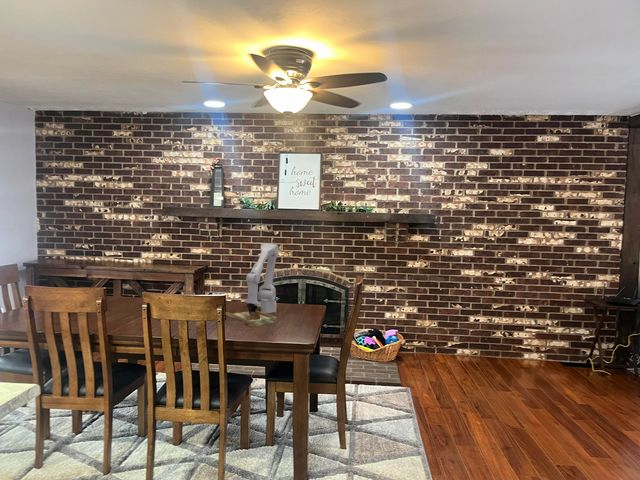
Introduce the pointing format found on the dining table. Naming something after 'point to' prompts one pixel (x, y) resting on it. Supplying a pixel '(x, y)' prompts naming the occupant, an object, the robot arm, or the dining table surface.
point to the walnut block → (255, 315)
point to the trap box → (263, 319)
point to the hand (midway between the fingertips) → (252, 316)
